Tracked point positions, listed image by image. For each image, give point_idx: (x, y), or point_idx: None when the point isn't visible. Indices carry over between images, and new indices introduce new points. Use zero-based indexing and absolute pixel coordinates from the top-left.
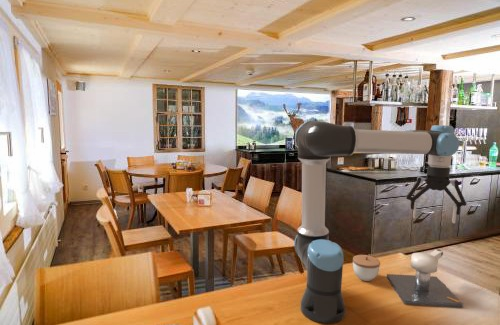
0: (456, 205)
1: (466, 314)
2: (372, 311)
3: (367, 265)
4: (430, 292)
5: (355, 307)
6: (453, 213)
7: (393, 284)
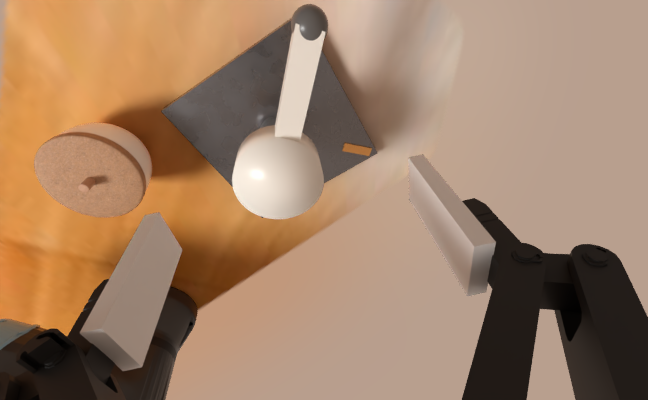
0: (492, 274)
1: (381, 171)
2: (223, 266)
3: (124, 213)
4: None
5: (192, 274)
6: (436, 225)
7: (209, 161)
